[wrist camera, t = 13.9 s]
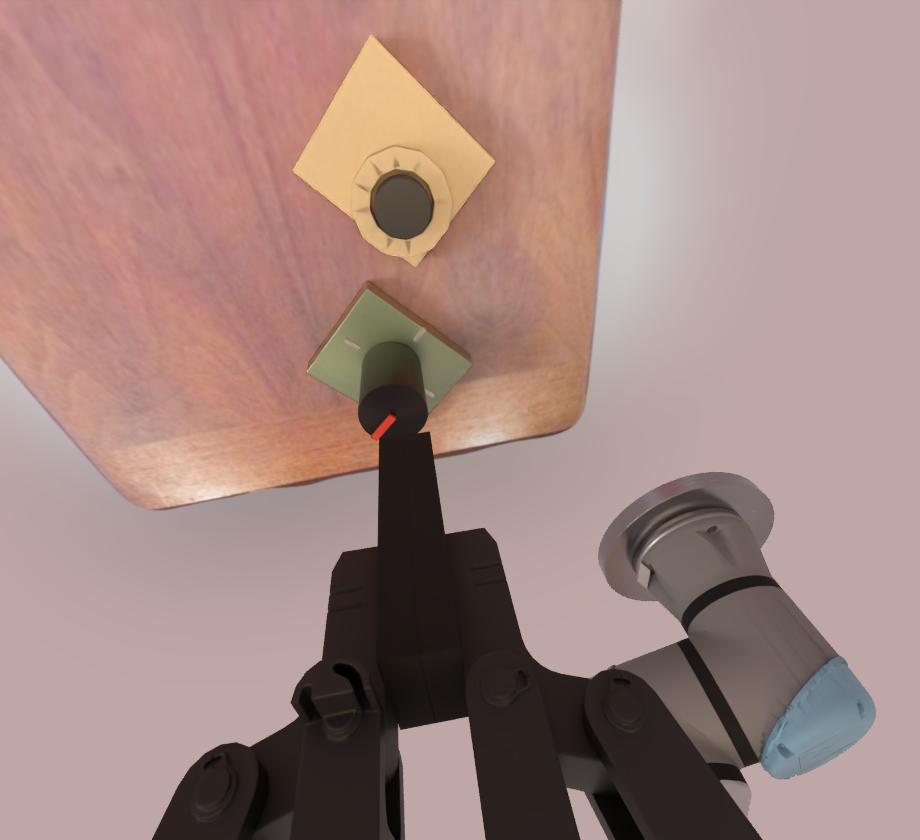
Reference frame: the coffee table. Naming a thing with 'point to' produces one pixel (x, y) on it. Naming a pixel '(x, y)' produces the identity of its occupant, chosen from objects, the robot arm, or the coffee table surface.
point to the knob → (392, 392)
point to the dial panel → (379, 323)
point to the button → (402, 206)
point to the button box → (391, 150)
